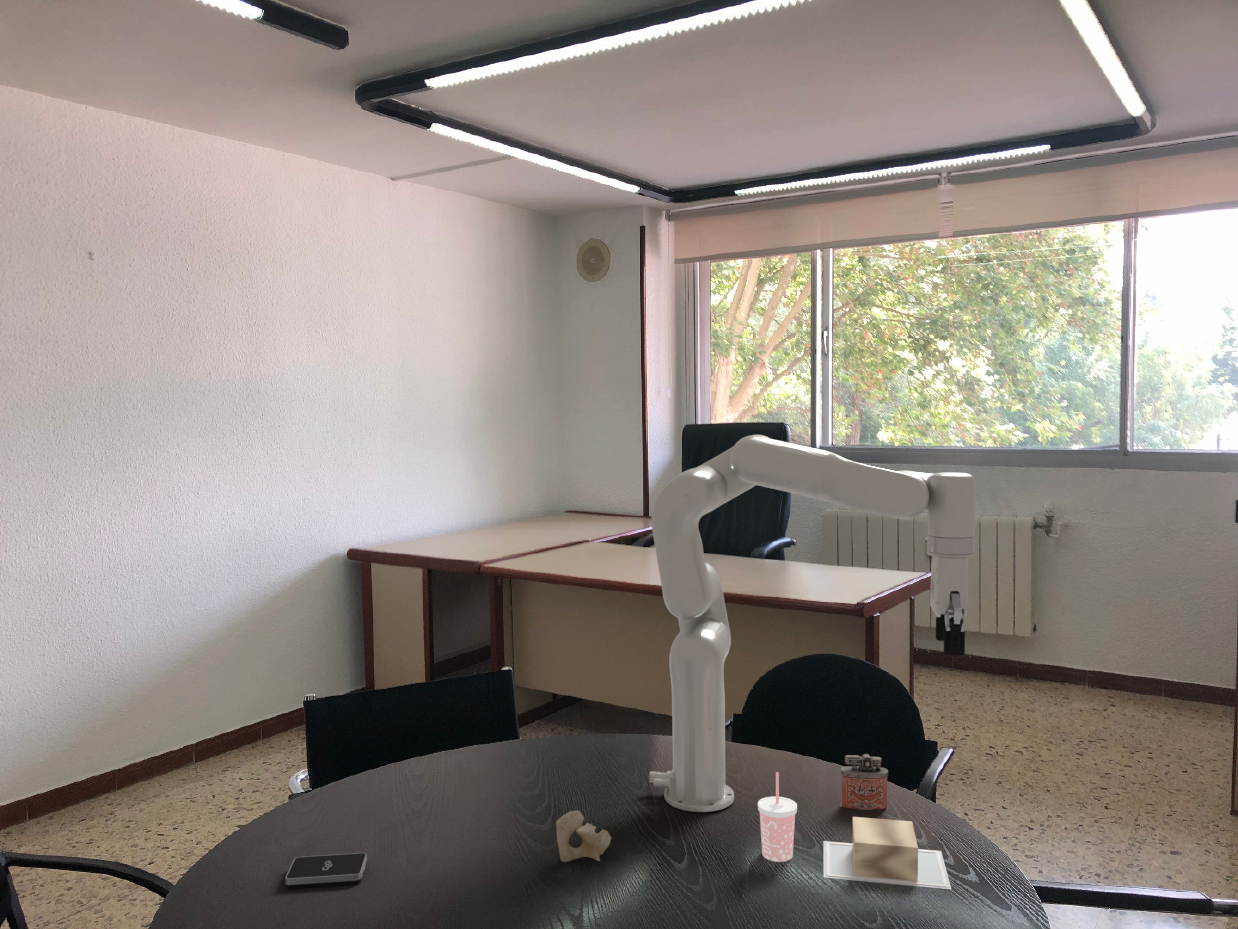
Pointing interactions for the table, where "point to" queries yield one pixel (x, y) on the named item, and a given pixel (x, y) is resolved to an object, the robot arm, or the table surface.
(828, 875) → the white tray
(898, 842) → the maple block
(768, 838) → the beverage cup
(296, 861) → the external hard drive
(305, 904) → the table surface
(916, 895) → the table surface
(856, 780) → the lighter
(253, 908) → the table surface
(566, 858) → the bone
